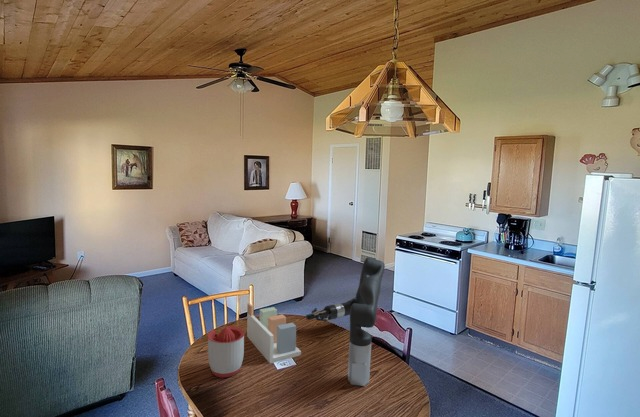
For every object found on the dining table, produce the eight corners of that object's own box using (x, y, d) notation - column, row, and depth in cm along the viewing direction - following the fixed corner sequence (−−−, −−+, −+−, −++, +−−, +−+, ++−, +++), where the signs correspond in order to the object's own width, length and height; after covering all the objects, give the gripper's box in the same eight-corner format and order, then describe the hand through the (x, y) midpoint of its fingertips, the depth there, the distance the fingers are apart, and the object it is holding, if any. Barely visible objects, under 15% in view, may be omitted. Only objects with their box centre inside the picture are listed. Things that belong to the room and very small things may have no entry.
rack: (275, 330, 204) (275, 298, 202) (300, 355, 178) (302, 319, 176) (247, 336, 196) (247, 303, 194) (269, 363, 170) (270, 325, 168)
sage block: (273, 328, 201) (273, 306, 200) (276, 331, 197) (277, 309, 196) (259, 331, 197) (259, 309, 196) (262, 334, 193) (262, 312, 192)
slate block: (291, 345, 182) (292, 322, 181) (295, 349, 179) (296, 325, 177) (276, 349, 178) (277, 325, 177) (280, 353, 175) (280, 329, 173)
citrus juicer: (232, 356, 175) (232, 315, 173) (250, 372, 162) (251, 328, 160) (200, 366, 165) (199, 323, 163) (216, 385, 152) (216, 338, 150)
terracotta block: (281, 336, 192) (282, 314, 190) (285, 340, 188) (286, 317, 187) (267, 340, 188) (267, 317, 186) (270, 343, 184) (271, 320, 183)
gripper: (328, 300, 210) (301, 306, 201) (341, 309, 199) (313, 315, 190) (327, 313, 211) (300, 319, 202) (340, 322, 200) (312, 329, 191)
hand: (306, 317), depth 196 cm, fingers closed
